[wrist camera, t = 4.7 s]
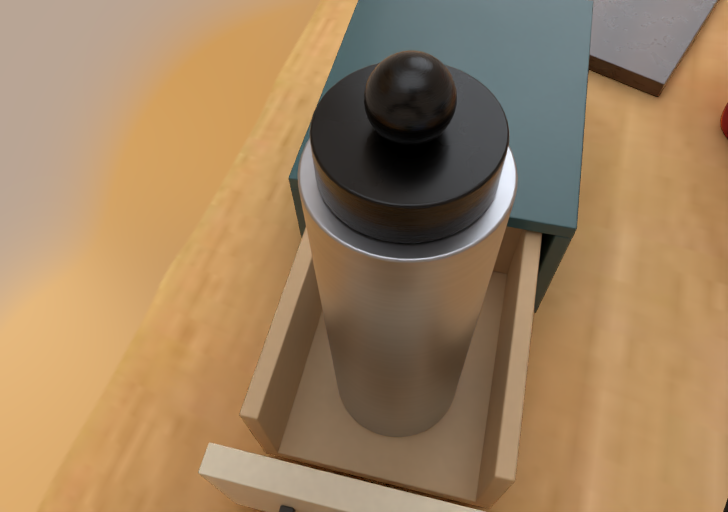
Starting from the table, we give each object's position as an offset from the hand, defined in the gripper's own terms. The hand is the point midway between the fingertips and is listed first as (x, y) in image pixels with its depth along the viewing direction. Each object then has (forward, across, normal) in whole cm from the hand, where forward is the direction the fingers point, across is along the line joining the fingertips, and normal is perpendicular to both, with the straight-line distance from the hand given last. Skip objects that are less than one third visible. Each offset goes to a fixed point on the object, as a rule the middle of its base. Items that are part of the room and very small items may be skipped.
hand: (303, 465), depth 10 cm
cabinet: (+31, 0, +2) cm, 31 cm away
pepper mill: (+19, 0, -7) cm, 20 cm away
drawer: (+19, 0, -9) cm, 21 cm away
